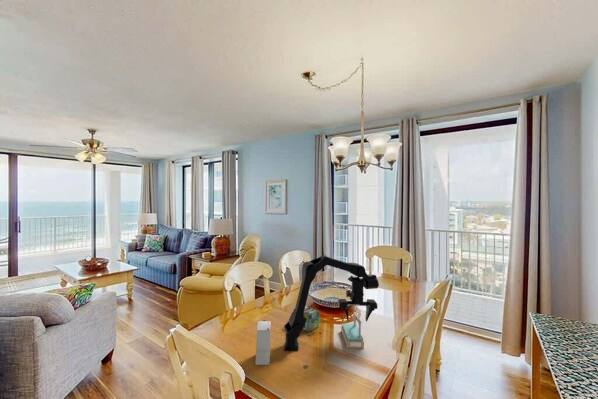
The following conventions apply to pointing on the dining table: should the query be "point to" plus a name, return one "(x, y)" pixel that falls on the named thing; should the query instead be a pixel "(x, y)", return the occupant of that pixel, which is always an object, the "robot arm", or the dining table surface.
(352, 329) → the lid flap
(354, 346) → the carton
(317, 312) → the chalk box
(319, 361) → the dining table surface
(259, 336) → the skincare box
